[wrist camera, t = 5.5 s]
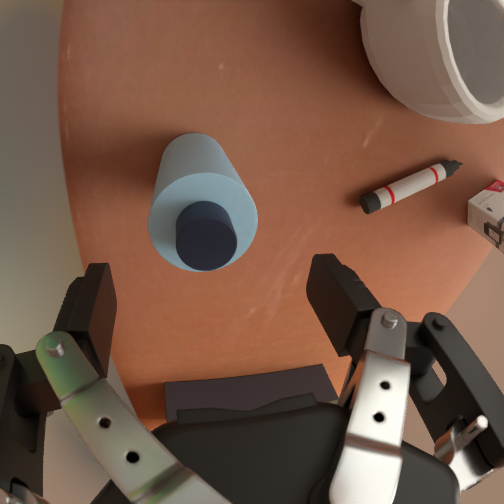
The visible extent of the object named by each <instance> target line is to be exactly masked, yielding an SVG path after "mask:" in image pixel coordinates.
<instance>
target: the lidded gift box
mask: <svg viewBox="0 0 504 504" xmlns="http://www.w3.org/2000/svg"><path fill="white" fill-rule="evenodd" d="M311 392H313V393H314V396H315V398H316V400H317V401H322V402H329V403H334V404H337V402H338V400H339V398H338V396H337V394H336V391H335V389H334V387H333V385H332V383H331V381H330V379H329V377H328V375H327V373H326V370H325V368H324V366H323V364H320V365H315V366H310V367H304V368H298V369H292V370H286V371H279V372H273V373H265V374H258V375H250V376H242V377H233V378H223V379H212V380H199V381H185V382H165V402H166V417H167V422H169V421H172V420H176V419H177V412H176V410H180V409H196V408H209V407H213V408H222V409H231V410H242V411H250V410H254V409H256V408H259V407H261V406H264V405H266V404H269V403H271V402H274V401H276V400H278V399H281V398H285V397H291V396H296V395H301V394H307V393H311Z"/></svg>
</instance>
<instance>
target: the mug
mask: <svg viewBox="0 0 504 504" xmlns="http://www.w3.org/2000/svg"><path fill="white" fill-rule="evenodd" d="M351 1H353V2H355V3H357V4H359V5H360V6H362V7H363V8H362V11H361V17H360V25H361V33H362V41H363V45H364V48H365V51H366V54H367V57H368V60H369V63H370V65H371V66H372V68H373V70H374V72H375V73H376V75H377V77H378V79H379V81H380V82H381V83H382V84H383V86H384V87H385V88H386V89H387V90H388V91H389V93H390V94H391V95H392V96H393V97H394V98H395V99H397V100H398V101H399V102H401V103H402V104H403V105H405V106H406V107H407V108H409V109H411V110H413V111H414V112H416V113H418V114H421V115H424V116H426V117H429V118H432V119H437V120H441V121H447V122H454V123H469V124H488V123H491V122H494V121H496V120H499V119H501V118H504V0H351Z"/></svg>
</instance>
